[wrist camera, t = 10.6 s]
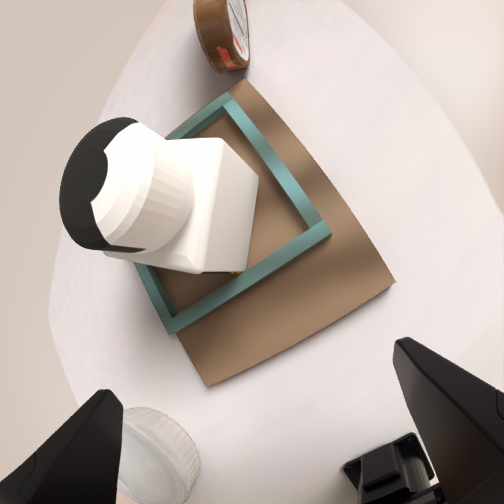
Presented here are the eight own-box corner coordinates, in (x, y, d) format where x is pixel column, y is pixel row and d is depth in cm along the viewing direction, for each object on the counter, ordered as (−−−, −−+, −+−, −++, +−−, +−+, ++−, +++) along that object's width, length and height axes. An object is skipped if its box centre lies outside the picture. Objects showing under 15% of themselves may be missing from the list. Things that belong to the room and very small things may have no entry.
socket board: (392, 281, 19) (398, 282, 17) (213, 382, 22) (201, 391, 20) (249, 85, 23) (241, 71, 21) (118, 190, 27) (103, 185, 25)
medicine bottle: (163, 259, 23) (35, 250, 12) (177, 173, 23) (65, 114, 12) (247, 274, 21) (134, 276, 9) (261, 175, 21) (173, 86, 10)
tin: (225, 2, 25) (196, -45, 17) (250, -5, 24) (225, -54, 16) (225, 91, 24) (181, 34, 16) (258, 83, 23) (223, 21, 15)
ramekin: (106, 426, 26) (75, 442, 21) (148, 376, 25) (110, 393, 20) (174, 495, 23) (149, 520, 18) (233, 460, 22) (209, 493, 17)
